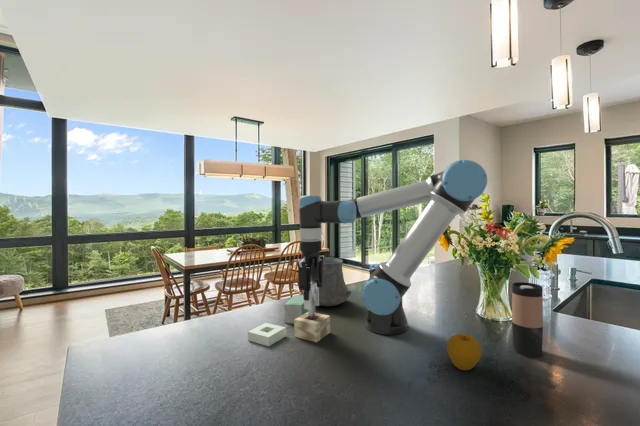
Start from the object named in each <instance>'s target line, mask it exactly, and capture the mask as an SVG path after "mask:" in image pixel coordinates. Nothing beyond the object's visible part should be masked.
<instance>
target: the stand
mask: <svg viewBox="0 0 640 426" xmlns="http://www.w3.org/2000/svg"><path fill="white" fill-rule="evenodd" d="M285 337H287V327H285V326H282V325H277V324H274V323H273V324H272V323H269V322H264V323H263V324H260V325H259V326H257V327H255V328H253V329H251V330H248V331H247V340H248V341H249V342H253V343H255V344H256V343H257V344H259V345H262V346H266V347H270V346H272V345H273V344H275V343H277V342H278V341H280V340H282V339H284V338H285Z"/></svg>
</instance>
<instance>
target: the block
mask: <svg viewBox="0 0 640 426" xmlns="http://www.w3.org/2000/svg"><path fill="white" fill-rule="evenodd" d="M315 318H316V320H314V321H313V320H309V319H308V312H307V313H305V314H303V315H302V316H300V317H298V318H296V319H294V324H293V325H294V326H293V327H294V337H295V338H299V339H302V340H306V341H310V342H314V343H318V342H319V341H321V340H322V339H324V338H325V337H327V336H328V335H329V334H330V333H331V315H328V314H323V313H319V312H315Z"/></svg>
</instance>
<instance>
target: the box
mask: <svg viewBox="0 0 640 426" xmlns="http://www.w3.org/2000/svg"><path fill="white" fill-rule="evenodd" d="M283 307H284V323H286V324H293V325H294V319H296V318H298V317H300V316H302V315H303V314H305V313H307V312H308V309H304V294H295V295H293V296H292V297H291V298H290V299H289V300H288V301H287V302H285V303H284V305H283Z"/></svg>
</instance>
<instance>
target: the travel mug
mask: <svg viewBox="0 0 640 426" xmlns="http://www.w3.org/2000/svg"><path fill="white" fill-rule="evenodd" d="M511 296H512V297H511V324H512V329H511V331H512V349H513V351H514V352H515V353H517V354H518V355H520V356H523V357H527V358H540V357H541V356H542V355H543V338H544V337H543V334H544V333H543V332H544V331H543V330H544V317H543V316H544V315H543V314H544V311H543V310H544V309H543V308H544V307H543V306H544V305H543V300H544V299H543V286H542V285H540V284H537V283H532V282H525V281H524V282H522V281H521V282H520V281H519V282H518V281H516V282H513V283H512V285H511Z"/></svg>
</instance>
